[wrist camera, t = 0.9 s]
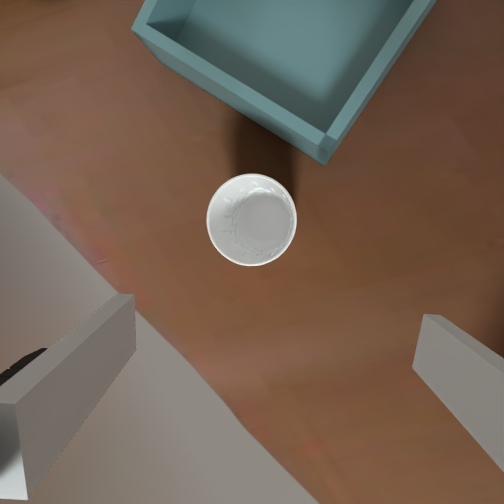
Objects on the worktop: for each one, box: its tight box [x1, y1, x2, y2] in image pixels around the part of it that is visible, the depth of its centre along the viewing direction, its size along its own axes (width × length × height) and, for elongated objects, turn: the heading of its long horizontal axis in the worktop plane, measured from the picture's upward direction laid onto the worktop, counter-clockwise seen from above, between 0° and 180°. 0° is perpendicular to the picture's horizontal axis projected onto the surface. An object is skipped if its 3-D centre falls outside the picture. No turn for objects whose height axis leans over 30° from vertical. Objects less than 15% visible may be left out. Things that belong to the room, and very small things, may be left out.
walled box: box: [131, 0, 437, 166], centre depth 29 cm, size 24×20×6 cm
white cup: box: [207, 174, 297, 266], centre depth 29 cm, size 8×8×10 cm
